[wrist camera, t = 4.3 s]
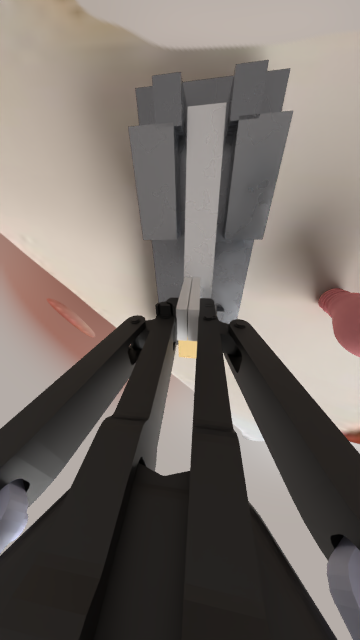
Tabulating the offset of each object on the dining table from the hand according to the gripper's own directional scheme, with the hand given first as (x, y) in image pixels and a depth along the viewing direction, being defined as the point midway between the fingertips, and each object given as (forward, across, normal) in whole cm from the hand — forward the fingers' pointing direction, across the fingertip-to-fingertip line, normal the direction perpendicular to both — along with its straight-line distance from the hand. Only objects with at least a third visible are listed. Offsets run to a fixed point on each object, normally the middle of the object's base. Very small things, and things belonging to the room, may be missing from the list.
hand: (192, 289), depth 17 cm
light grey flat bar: (+3, +1, +5) cm, 6 cm away
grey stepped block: (+10, +1, +2) cm, 10 cm away
